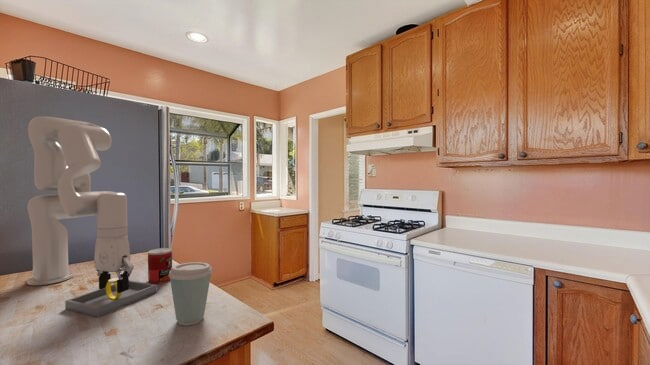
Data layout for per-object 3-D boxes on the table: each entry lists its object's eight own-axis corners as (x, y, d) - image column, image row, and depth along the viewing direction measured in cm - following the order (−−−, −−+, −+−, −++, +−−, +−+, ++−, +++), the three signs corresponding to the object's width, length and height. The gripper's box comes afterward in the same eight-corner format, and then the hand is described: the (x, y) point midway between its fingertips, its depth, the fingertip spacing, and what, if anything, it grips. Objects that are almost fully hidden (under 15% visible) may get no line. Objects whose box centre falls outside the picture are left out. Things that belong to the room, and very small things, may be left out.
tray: (65, 309, 84) (65, 300, 83) (127, 286, 100) (126, 279, 100) (97, 317, 79) (97, 308, 79) (156, 292, 96) (156, 284, 96)
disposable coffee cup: (182, 310, 83) (181, 258, 83) (219, 310, 83) (219, 258, 82) (160, 330, 72) (159, 270, 72) (202, 330, 72) (201, 271, 72)
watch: (124, 299, 90) (124, 280, 89) (114, 302, 87) (115, 283, 87) (112, 294, 92) (113, 276, 92) (102, 297, 90) (103, 279, 89)
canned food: (162, 284, 103) (161, 253, 102) (142, 282, 104) (142, 252, 104) (177, 277, 110) (176, 248, 110) (159, 275, 112) (158, 247, 111)
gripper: (80, 233, 89) (82, 290, 89) (120, 237, 83) (121, 298, 83) (106, 228, 96) (107, 281, 96) (144, 232, 90) (145, 288, 90)
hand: (113, 289), depth 89 cm, fingers open, 7 cm apart
